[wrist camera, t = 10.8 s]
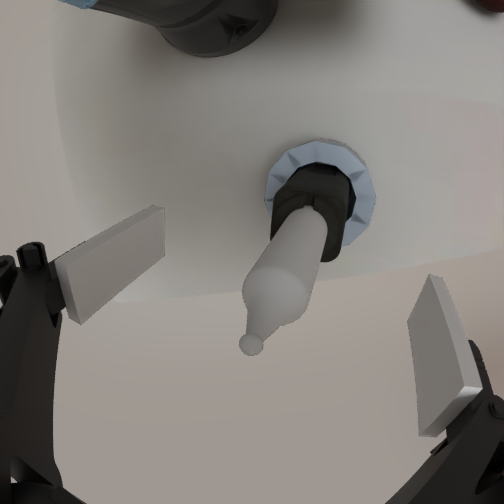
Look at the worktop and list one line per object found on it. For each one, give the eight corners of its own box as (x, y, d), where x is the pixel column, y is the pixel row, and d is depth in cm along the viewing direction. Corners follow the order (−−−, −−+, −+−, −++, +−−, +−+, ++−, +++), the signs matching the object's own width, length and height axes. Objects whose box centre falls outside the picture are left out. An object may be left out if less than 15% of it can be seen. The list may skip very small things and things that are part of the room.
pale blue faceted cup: (277, 213, 36) (259, 235, 29) (290, 132, 31) (273, 133, 25) (357, 233, 34) (358, 260, 27) (377, 151, 29) (385, 158, 23)
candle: (299, 204, 33) (187, 376, 11) (303, 159, 30) (173, 271, 9) (344, 212, 31) (307, 411, 10) (350, 167, 29) (339, 309, 8)
